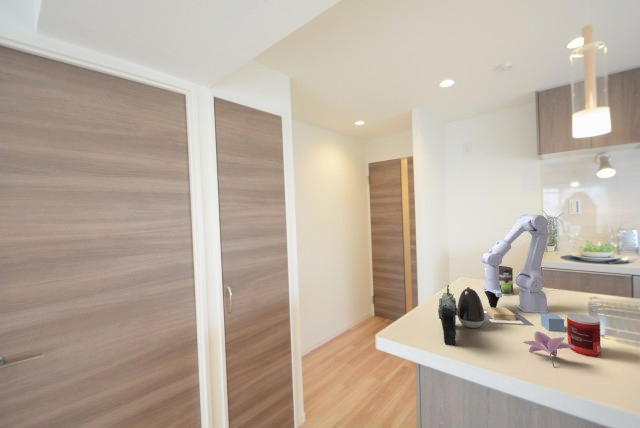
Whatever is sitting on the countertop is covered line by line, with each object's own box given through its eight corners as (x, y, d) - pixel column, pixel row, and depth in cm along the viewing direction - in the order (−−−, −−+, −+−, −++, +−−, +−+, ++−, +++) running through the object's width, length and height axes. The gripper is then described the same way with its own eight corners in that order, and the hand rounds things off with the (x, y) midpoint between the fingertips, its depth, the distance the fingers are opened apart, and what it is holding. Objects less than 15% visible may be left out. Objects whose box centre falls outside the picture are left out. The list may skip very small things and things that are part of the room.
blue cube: (555, 326, 104) (555, 314, 104) (564, 332, 99) (564, 319, 99) (541, 325, 105) (540, 313, 105) (549, 331, 100) (548, 318, 100)
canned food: (590, 346, 89) (589, 313, 89) (607, 358, 81) (606, 323, 81) (562, 343, 91) (561, 312, 91) (576, 355, 84) (575, 321, 84)
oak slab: (506, 313, 118) (506, 307, 118) (515, 320, 110) (515, 314, 110) (486, 312, 120) (486, 307, 120) (494, 319, 112) (494, 314, 112)
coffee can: (517, 295, 140) (516, 269, 140) (496, 295, 141) (495, 269, 141) (507, 289, 150) (506, 265, 150) (487, 289, 152) (486, 265, 151)
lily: (584, 369, 78) (571, 334, 83) (575, 368, 72) (562, 330, 76) (535, 366, 87) (526, 335, 91) (523, 365, 80) (514, 331, 85)
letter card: (514, 310, 121) (514, 310, 121) (534, 325, 105) (534, 325, 105) (471, 309, 125) (471, 308, 125) (484, 323, 109) (484, 323, 109)
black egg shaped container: (483, 321, 111) (481, 286, 111) (487, 332, 101) (485, 293, 101) (456, 318, 115) (454, 284, 115) (457, 328, 106) (456, 291, 106)
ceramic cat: (459, 349, 91) (456, 292, 90) (438, 345, 93) (436, 290, 93) (456, 325, 109) (454, 277, 108) (439, 323, 111) (437, 276, 111)
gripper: (476, 274, 130) (477, 301, 130) (488, 282, 116) (490, 313, 116) (492, 274, 128) (493, 302, 128) (506, 282, 114) (508, 313, 114)
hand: (493, 307), depth 122 cm, fingers closed
